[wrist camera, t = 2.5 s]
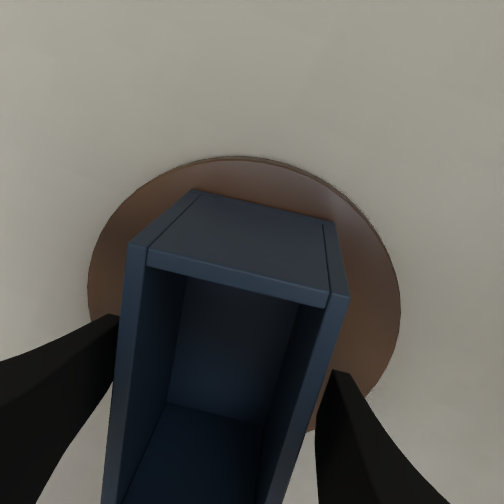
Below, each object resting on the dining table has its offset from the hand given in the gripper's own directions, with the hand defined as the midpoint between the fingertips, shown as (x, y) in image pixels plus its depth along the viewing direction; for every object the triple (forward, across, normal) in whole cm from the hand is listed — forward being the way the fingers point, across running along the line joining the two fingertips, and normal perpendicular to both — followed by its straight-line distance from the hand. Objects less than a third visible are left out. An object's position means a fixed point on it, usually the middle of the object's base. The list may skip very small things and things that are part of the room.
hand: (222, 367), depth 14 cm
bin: (+3, 0, +1) cm, 3 cm away
